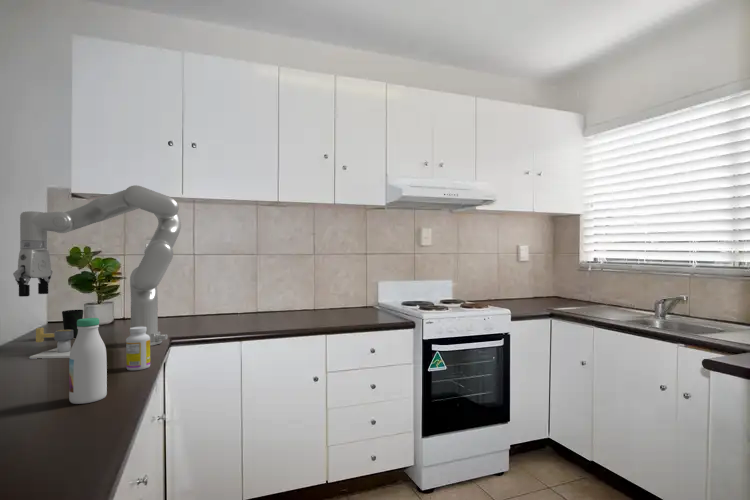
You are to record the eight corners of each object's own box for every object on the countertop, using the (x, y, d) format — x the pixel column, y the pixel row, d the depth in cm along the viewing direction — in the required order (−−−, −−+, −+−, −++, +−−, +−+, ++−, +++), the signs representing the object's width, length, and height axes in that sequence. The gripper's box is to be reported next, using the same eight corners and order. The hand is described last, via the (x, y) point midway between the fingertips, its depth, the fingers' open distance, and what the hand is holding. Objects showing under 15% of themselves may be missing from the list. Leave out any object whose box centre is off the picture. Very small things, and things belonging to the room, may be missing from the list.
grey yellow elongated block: (76, 339, 157) (76, 326, 157) (66, 342, 151) (66, 328, 151) (43, 340, 156) (43, 326, 156) (31, 343, 151) (31, 329, 151)
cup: (58, 340, 178) (58, 312, 178) (66, 337, 186) (66, 310, 186) (79, 339, 180) (79, 311, 180) (86, 336, 188) (86, 309, 188)
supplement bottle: (145, 364, 137) (145, 325, 138) (154, 367, 133) (153, 327, 133) (122, 368, 132) (122, 328, 132) (131, 372, 128) (131, 330, 128)
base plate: (95, 348, 161) (95, 335, 161) (71, 357, 147) (71, 343, 147) (57, 349, 160) (57, 336, 161) (29, 358, 147) (29, 344, 147)
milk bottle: (113, 393, 108) (113, 316, 108) (94, 404, 101) (94, 321, 101) (82, 394, 108) (82, 316, 108) (61, 405, 100) (61, 321, 100)
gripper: (25, 245, 141) (26, 297, 141) (61, 246, 159) (61, 292, 158) (2, 245, 141) (2, 297, 141) (41, 246, 158) (41, 293, 158)
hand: (34, 294), depth 150 cm, fingers open, 8 cm apart
